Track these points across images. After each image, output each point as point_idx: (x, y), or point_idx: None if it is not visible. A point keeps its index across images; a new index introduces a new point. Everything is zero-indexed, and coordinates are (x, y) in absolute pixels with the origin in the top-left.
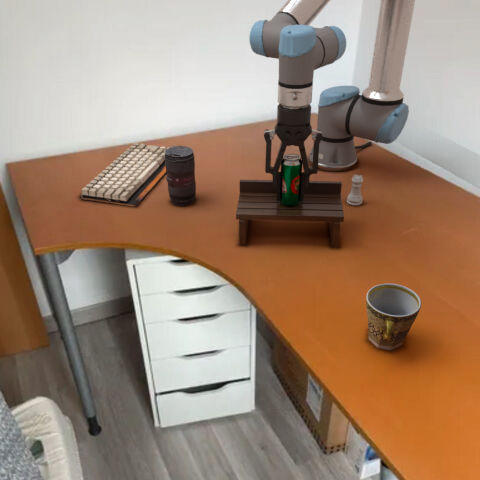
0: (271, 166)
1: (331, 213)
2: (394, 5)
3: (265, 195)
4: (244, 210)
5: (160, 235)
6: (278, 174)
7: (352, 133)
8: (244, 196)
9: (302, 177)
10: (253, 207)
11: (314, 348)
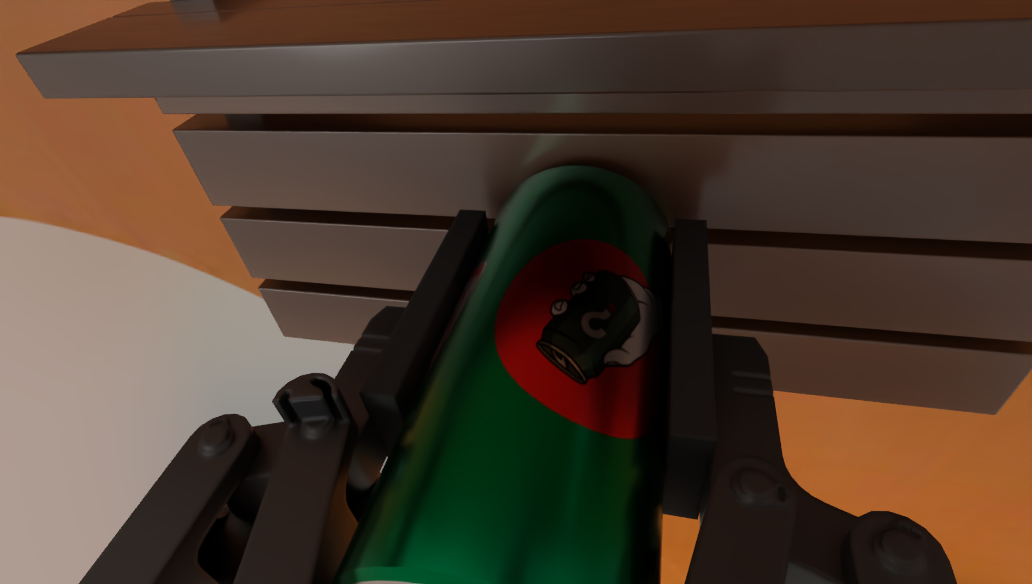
0: (257, 478)
1: (906, 378)
2: None
3: (358, 113)
4: (308, 310)
5: (46, 165)
6: (390, 443)
7: None
8: (211, 137)
9: (668, 509)
10: (343, 280)
11: (662, 572)
